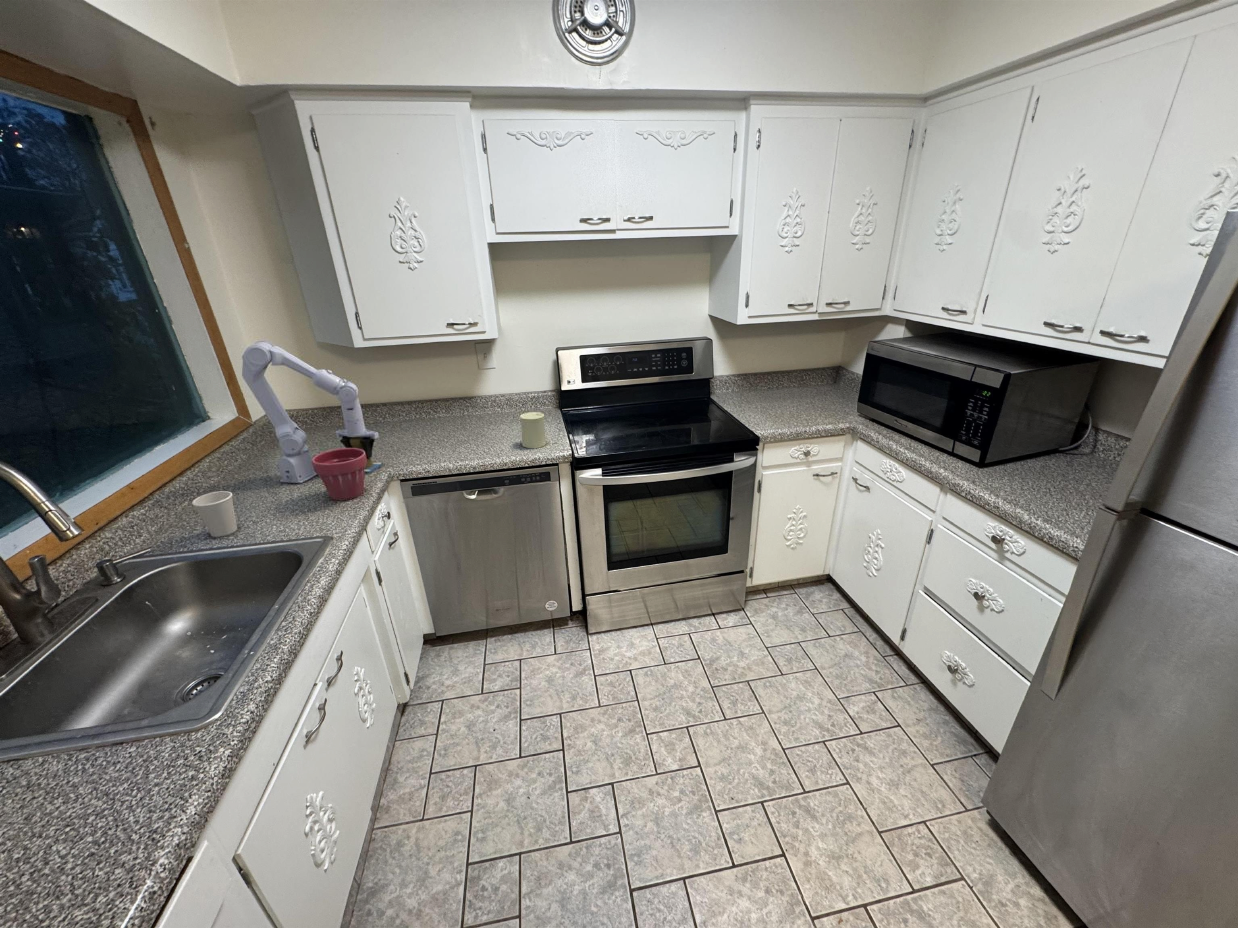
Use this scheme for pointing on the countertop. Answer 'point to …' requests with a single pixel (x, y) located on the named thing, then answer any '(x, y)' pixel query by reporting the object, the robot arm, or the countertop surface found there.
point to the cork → (356, 444)
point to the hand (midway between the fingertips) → (362, 457)
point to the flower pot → (341, 472)
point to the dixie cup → (217, 512)
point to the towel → (373, 467)
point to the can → (533, 430)
